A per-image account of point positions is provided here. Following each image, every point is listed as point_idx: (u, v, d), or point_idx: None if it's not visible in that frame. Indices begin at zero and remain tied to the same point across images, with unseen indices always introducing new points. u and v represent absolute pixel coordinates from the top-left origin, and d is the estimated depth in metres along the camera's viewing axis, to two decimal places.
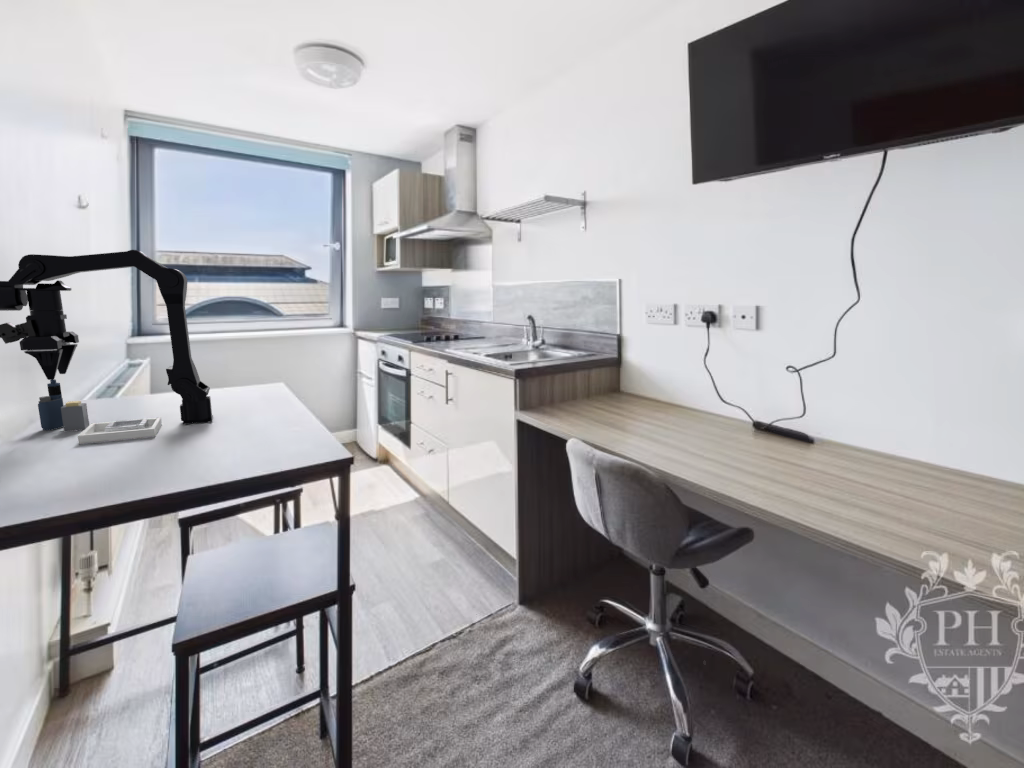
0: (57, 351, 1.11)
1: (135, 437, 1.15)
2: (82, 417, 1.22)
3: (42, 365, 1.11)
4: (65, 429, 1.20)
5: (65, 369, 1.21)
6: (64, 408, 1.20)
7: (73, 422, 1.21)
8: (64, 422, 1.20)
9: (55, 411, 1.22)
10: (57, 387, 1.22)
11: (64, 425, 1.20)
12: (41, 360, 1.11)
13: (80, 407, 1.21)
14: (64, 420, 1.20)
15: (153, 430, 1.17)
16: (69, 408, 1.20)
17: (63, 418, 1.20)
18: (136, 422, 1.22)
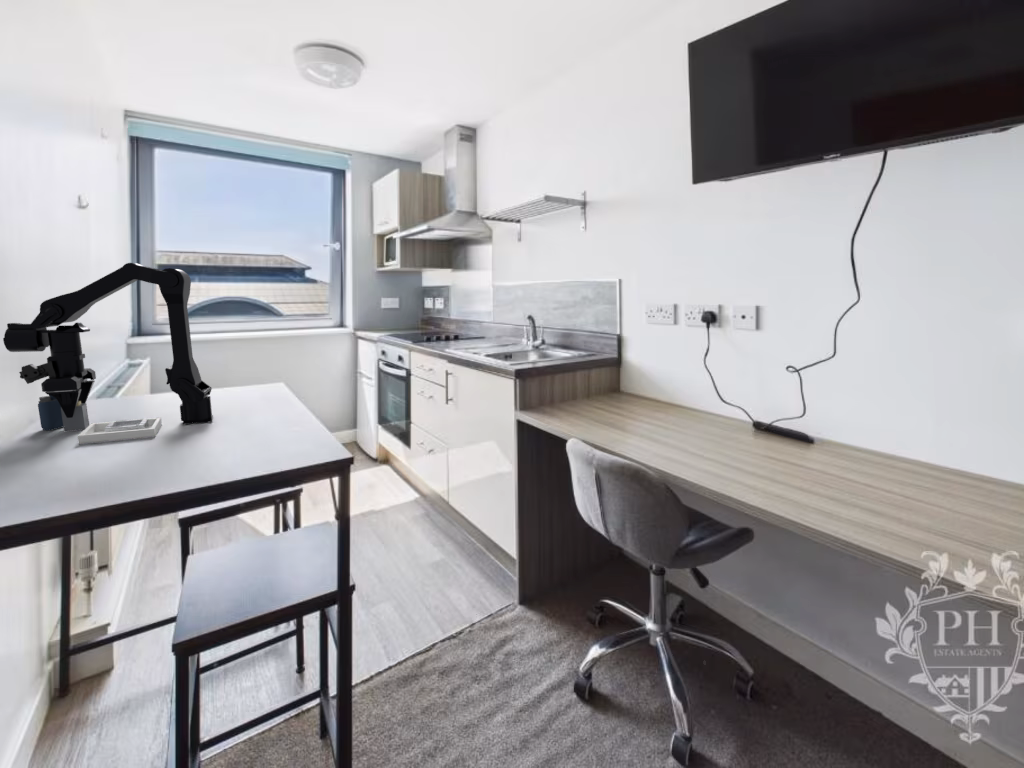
0: (76, 391, 1.16)
1: (135, 437, 1.15)
2: (82, 417, 1.22)
3: (62, 404, 1.16)
4: (65, 429, 1.20)
5: None
6: None
7: (73, 422, 1.21)
8: (64, 422, 1.20)
9: (55, 411, 1.22)
10: None
11: (64, 425, 1.20)
12: (61, 400, 1.16)
13: (80, 407, 1.21)
14: (64, 420, 1.20)
15: (153, 430, 1.17)
16: None
17: (63, 418, 1.20)
18: (136, 422, 1.22)
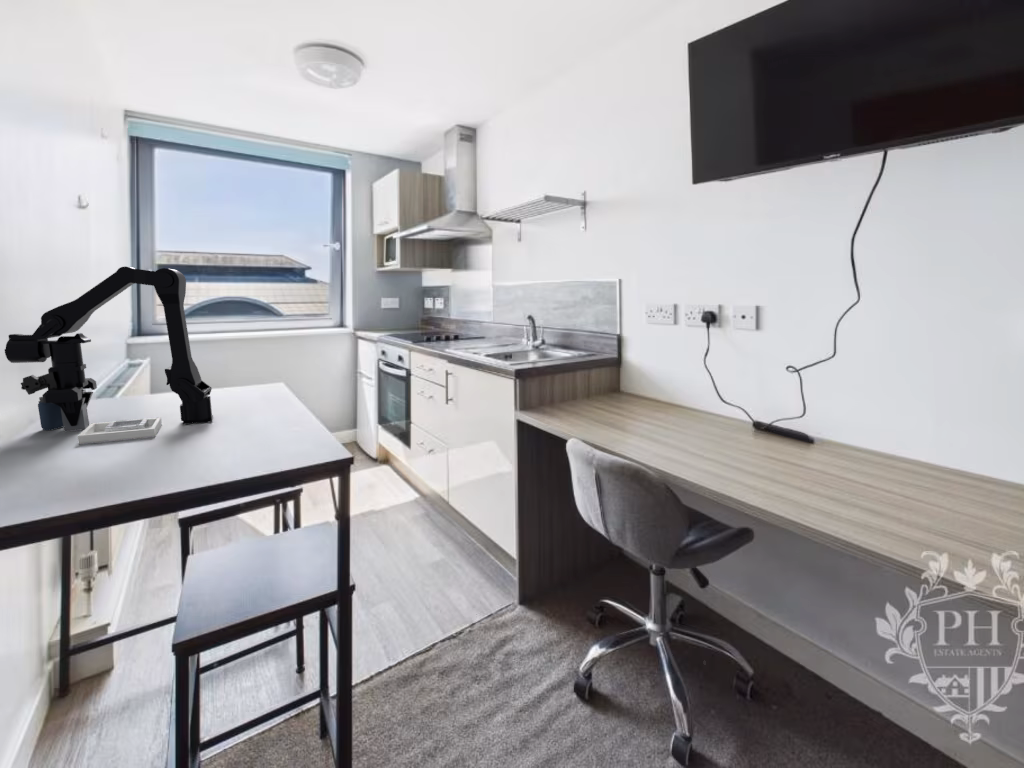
0: (80, 400, 1.18)
1: (135, 437, 1.15)
2: (82, 417, 1.22)
3: (66, 413, 1.19)
4: (65, 429, 1.20)
5: None
6: None
7: None
8: (64, 422, 1.20)
9: (55, 411, 1.22)
10: None
11: (64, 425, 1.20)
12: (65, 408, 1.18)
13: None
14: (64, 420, 1.20)
15: (153, 430, 1.17)
16: None
17: (63, 418, 1.20)
18: (136, 422, 1.22)
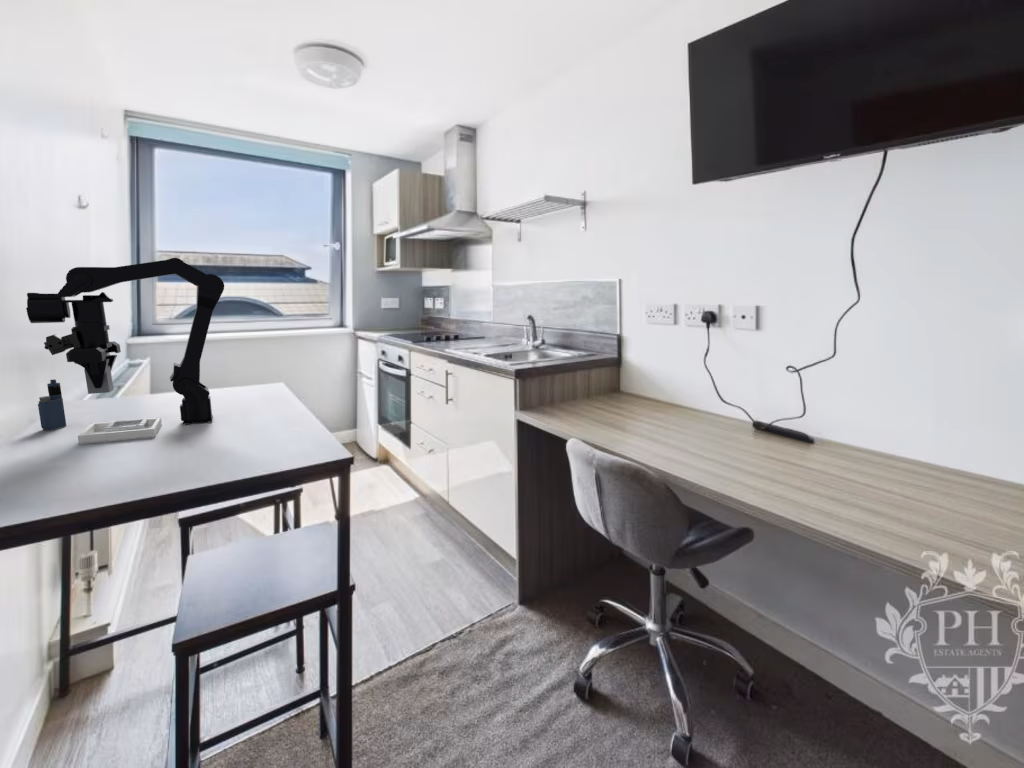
0: (104, 361, 1.14)
1: (135, 437, 1.15)
2: (106, 379, 1.18)
3: (90, 374, 1.15)
4: (89, 391, 1.17)
5: None
6: None
7: None
8: (88, 384, 1.16)
9: (55, 411, 1.22)
10: (57, 387, 1.22)
11: (88, 387, 1.17)
12: (89, 369, 1.15)
13: None
14: (88, 382, 1.16)
15: (153, 430, 1.17)
16: None
17: (87, 380, 1.16)
18: (136, 422, 1.22)
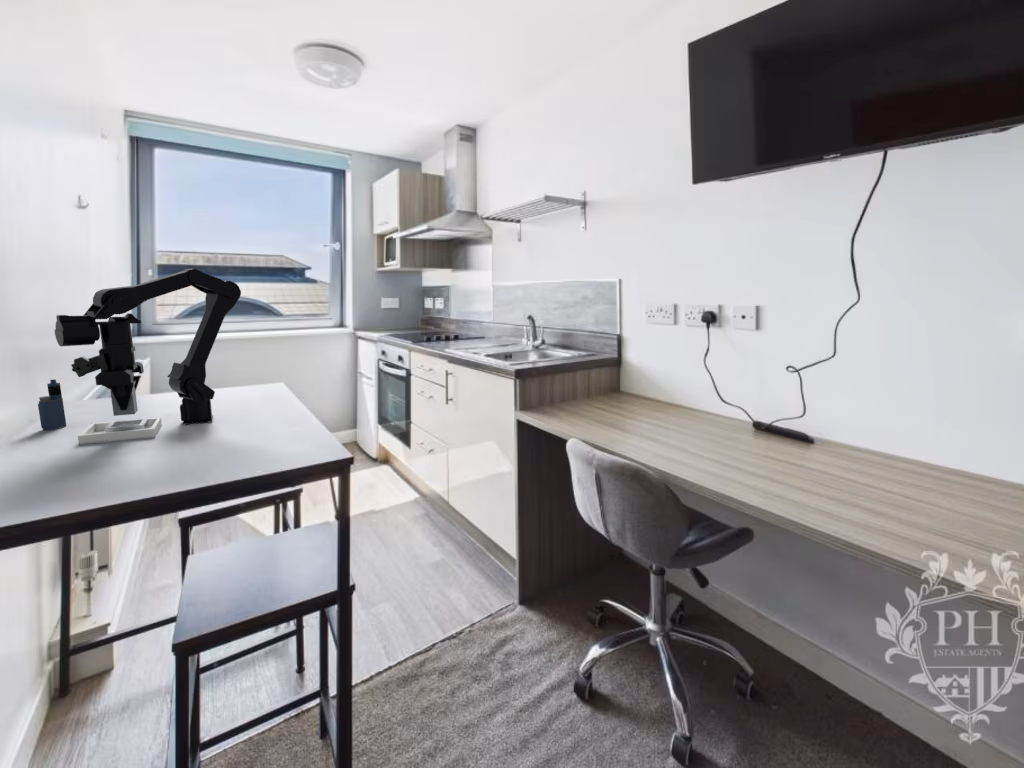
0: (132, 383, 1.14)
1: (135, 437, 1.15)
2: (132, 401, 1.17)
3: (117, 396, 1.14)
4: (115, 413, 1.16)
5: None
6: None
7: None
8: (114, 406, 1.15)
9: (55, 411, 1.22)
10: (57, 387, 1.22)
11: (114, 409, 1.15)
12: (116, 392, 1.14)
13: None
14: (114, 404, 1.15)
15: (153, 430, 1.17)
16: None
17: (113, 402, 1.15)
18: (136, 422, 1.22)
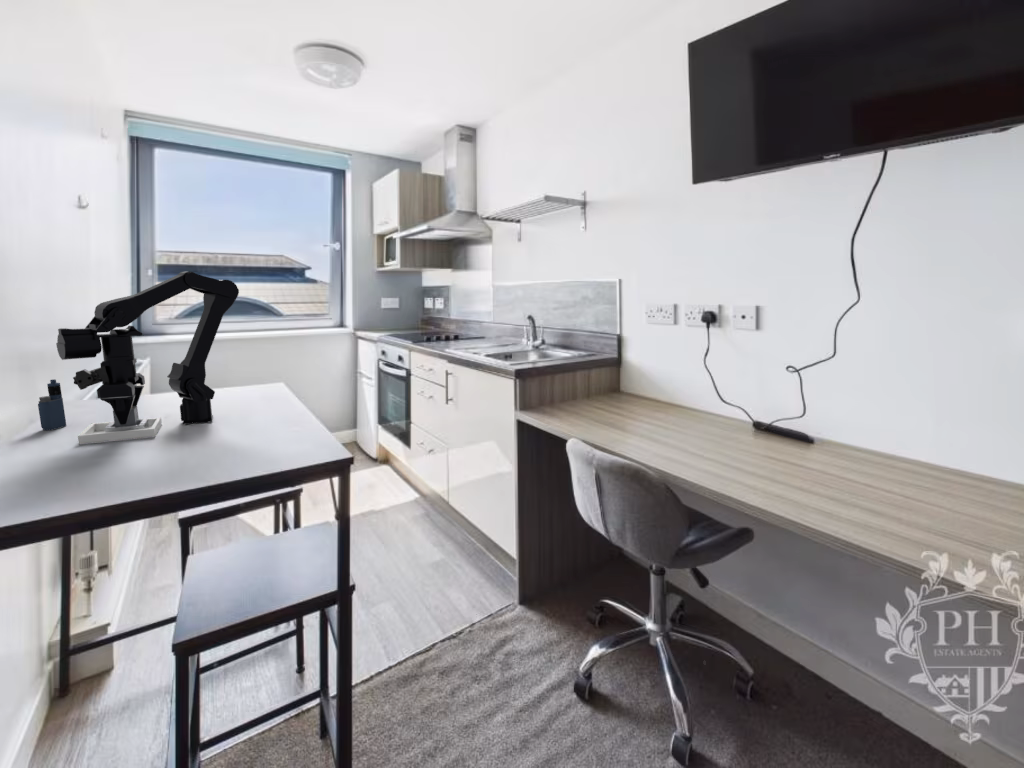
0: (131, 397, 1.12)
1: (135, 437, 1.15)
2: (134, 420, 1.18)
3: (116, 411, 1.13)
4: None
5: None
6: None
7: None
8: (116, 426, 1.16)
9: (55, 411, 1.22)
10: (57, 387, 1.22)
11: None
12: (115, 406, 1.12)
13: (132, 410, 1.17)
14: (116, 424, 1.16)
15: (153, 430, 1.17)
16: None
17: (115, 422, 1.16)
18: None
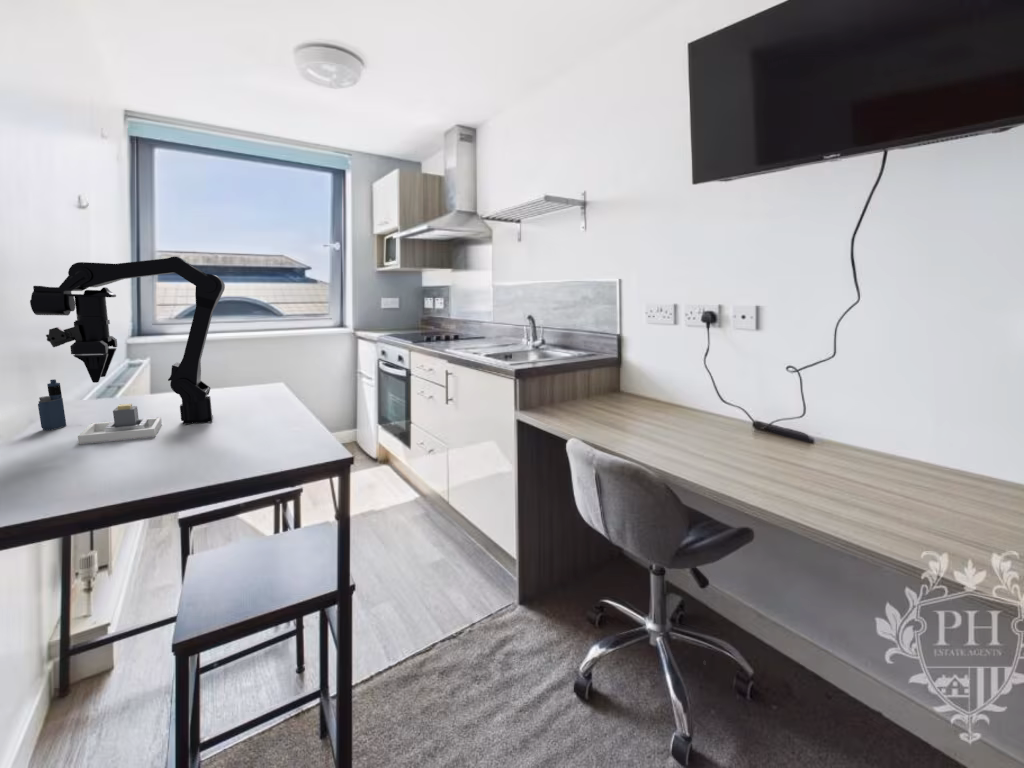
0: (104, 355, 1.15)
1: (135, 437, 1.15)
2: (134, 420, 1.18)
3: (89, 368, 1.16)
4: None
5: (105, 372, 1.25)
6: (116, 411, 1.16)
7: None
8: (116, 426, 1.16)
9: (55, 411, 1.22)
10: (57, 387, 1.22)
11: None
12: (88, 364, 1.15)
13: (132, 410, 1.17)
14: (116, 424, 1.16)
15: (153, 430, 1.17)
16: (121, 411, 1.16)
17: (115, 422, 1.16)
18: None
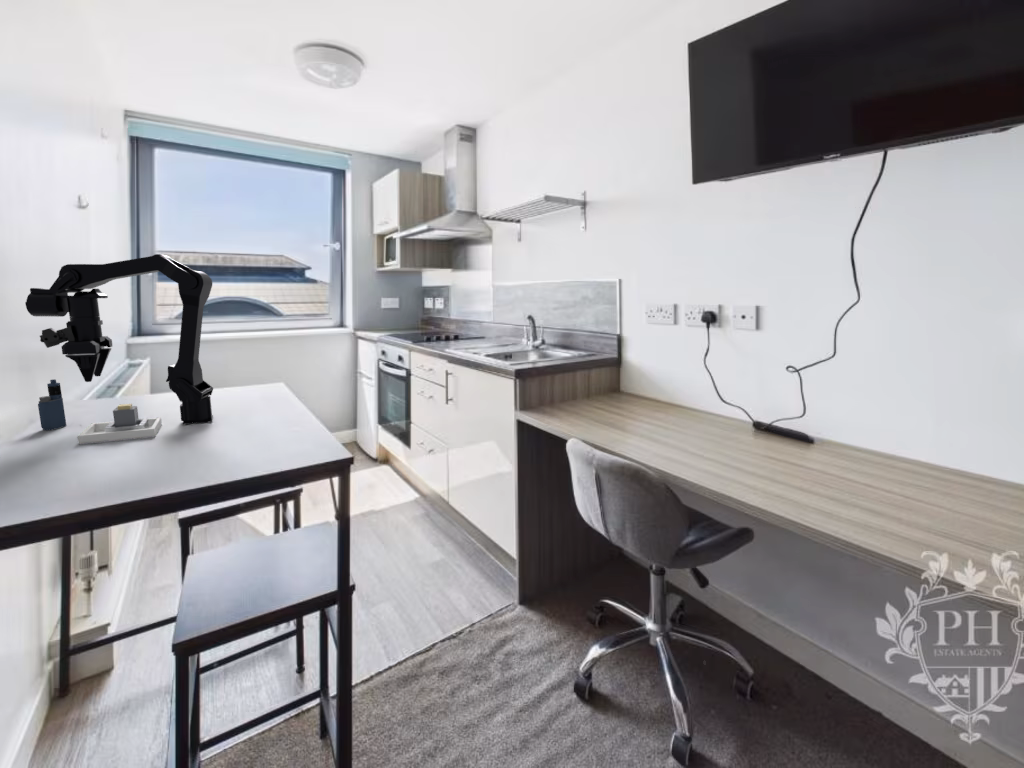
0: (95, 355, 1.18)
1: (135, 437, 1.15)
2: (134, 420, 1.18)
3: (81, 368, 1.19)
4: None
5: (100, 372, 1.28)
6: (116, 411, 1.16)
7: None
8: (116, 426, 1.16)
9: (55, 411, 1.22)
10: (57, 387, 1.22)
11: None
12: (80, 363, 1.18)
13: (132, 410, 1.17)
14: (116, 424, 1.16)
15: (153, 430, 1.17)
16: (121, 411, 1.16)
17: (115, 422, 1.16)
18: None
